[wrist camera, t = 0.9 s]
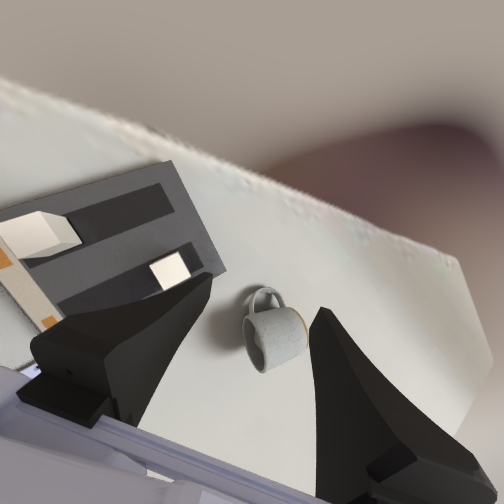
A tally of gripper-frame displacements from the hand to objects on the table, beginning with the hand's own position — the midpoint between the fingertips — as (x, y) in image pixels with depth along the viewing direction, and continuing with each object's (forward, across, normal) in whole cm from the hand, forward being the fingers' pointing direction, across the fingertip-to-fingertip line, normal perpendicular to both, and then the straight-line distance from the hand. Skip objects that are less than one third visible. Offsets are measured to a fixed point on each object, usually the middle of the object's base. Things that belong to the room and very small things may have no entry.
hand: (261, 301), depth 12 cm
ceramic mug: (+14, -2, +15) cm, 21 cm away
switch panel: (+8, +18, +6) cm, 20 cm away
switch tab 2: (+8, +12, +6) cm, 16 cm away
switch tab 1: (+4, +22, +3) cm, 22 cm away
